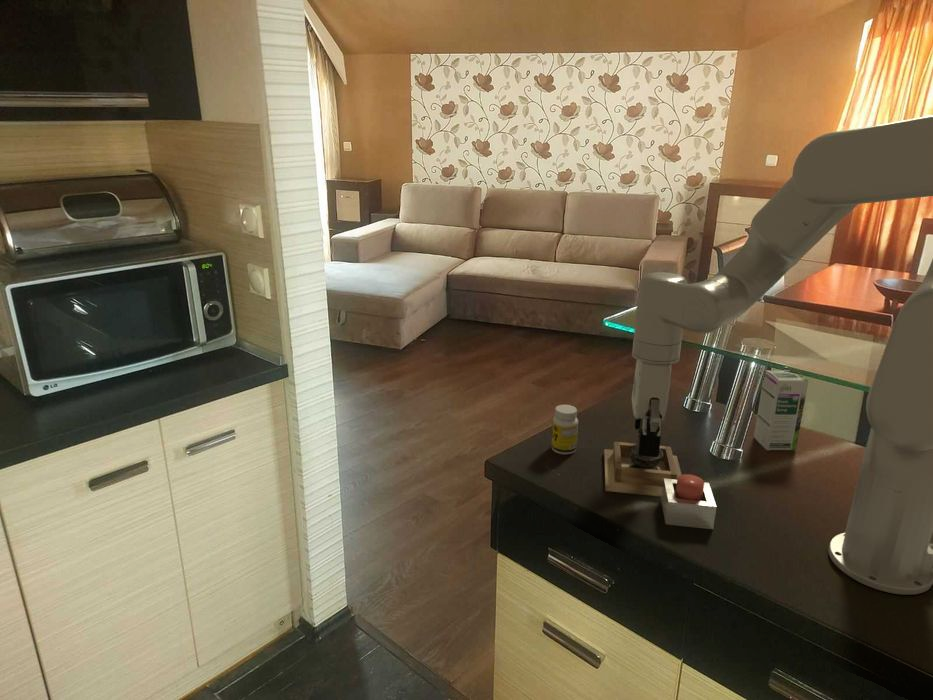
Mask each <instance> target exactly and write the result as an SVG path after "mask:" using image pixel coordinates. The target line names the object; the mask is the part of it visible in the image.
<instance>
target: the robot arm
mask: <svg viewBox="0 0 933 700" xmlns="http://www.w3.org/2000/svg"><path fill="white" fill-rule="evenodd" d="M797 155H798V156H797V157H796V159H795V162H794V165H793V169H792V176H791V177H789V179H788V180H787V181H786V182H785V183H784V184H783V185H782V186H781V188H780V189H779V190H778V191H777V192H775V194H774V195H773V196H772V197H771V198H770V199H769V200H768V201H767V202H766V204H764V206H762V208H761V209H760V210H759V211H757V213H756V214H755V215H754V216H753V217H752V219H751V223H750V232H749V235H748V238H747V239H746V241H745V243H743V245H742V247H741V248H740V249H739V250H738V251H737V252H736V254H735V255H734V256H733V257H732V258H731V259H729V261H728V262H727V263H726V264H725V265H724V266H722V268H721V269H720V270H719V271H717V273H716V274H715V275H714V276H712V277H709V278H707V279H705V280H702V281H699V282H694V283H689V282H688V280H687V279H686V277H684V276H682V275H681V274H679V273H678V274H677V273H673V272H668V271H667V272H666V271H665V272H663V271H655V272H648V273H646V274H644V275H643V276H642V277H641V278H640V280H639V285H638V290H637V291H638V292H637V293H638V294H637V302H636V313H635V322H634V323H635V324H634V334H633V342H632V352H631V357H632V358H634V359H635V360H636V362H635V363H636V364H635V371H634V377H633V378H634V379H633V385H632V393H631V406H632V412H633V413H632V414H633V416H634V418H635V423H634V429H635V430H636V431H637V430H638V429H640V421H641V419H643V431H642V433H640V442H639V451H638V453H639V455H640V456H649V457H658V456H659V448H660V446H661V438H662V435H661V434H662V433H661V427H662V425H661V424H662V421H664V420H665V419H666V414H667V408H668V402H669V401H668V400H669V394H670V393H669V392H670V384H671V377H672V376H671V375H672V364H673V365H674V364H676V363H678V362H680V358H681V357H680V356H681V348H682V340H683V333H684V330H685V331H687V332H690V333H694V334H700V335H707V334H711V333H714V332H716V331H717V330H719V329H721V328H722V327H724V326H725V325H727V324H729V323H730V322H733V321H735V320H736V319H738V318H740V317H741V316H742V315H744V314H745V313H746V312H747V311H748V310H750V308H751V307H753V306H754V305H755V304H756V303H757V302H758V301H759V300H760V299H761V298H763V296H764V295H765V294H766V293H767V292H769V291H770V290H771V289H772V288H773V287H774V286H775V285H776V284H777V283H778V282H779V281H780V280H781V279H782V278H783V277H784V276H785V275H786V274H787V273H788V272H789V270H791V269H792V268H793V267H795V266H796V265H797V264H798V263H799V262H800V261H801V259H802V258H803V257H804V256H806V255H807V253H808V252H809V251H811V249H812V248H814V247H815V245H817V244H818V243H819V242H820V241H821V240H822V239H823V238H824V237H825V236H826V235H827V234H828V233H829V232H830V231H831V230H832V229H833V228H835V226H836V225H838V224H839V223H840V222H841V221H842V220H843V219H844V218H845V217H847V216H848V215H849V214H850V213H851V212H852V211H853V210H855V208H856V207H857V206H858V205H862V204H871V203H872V204H873V203H880V202H881V203H882V202H889V201H890V202H891V201H899V200H907V199H908V200H909V199H917V198H918V199H919V198H927V197H933V114H932V115H926V116H920V117H916V118H910V119H905V120H899V121H893V122H888V123H884V124H878V125H873V126H866V127H861V128H853V129H848V130H838V131H831V132H828V133H824V134H822V135H819V136H817V137H816V138H814V139H813V140H811V141H810V142H808V144H806V145H805V146H804V148H803V149H801V151H800V152H799V154H797ZM884 347H885V348H884V350H883V353H882V356H881V359H880V361H879V364H878V367H877V369H876V372H875V375H874V377H873V380H872V383H871V386H870V389H869V391H868V394H867V397H866V404H865V409H866V417H867V419H868V423H869V424H870V425H869V426H870V427H871V428H870V430H869V433H868V434H869V435H868V438H867V442H866V447H865V451H864V453H863V454H864V455H863V458H862V461H861V462H862V463H861V466H860V469H859V474H858V479H857V482H856V486H855V490H854V495H853V498H852V502H851V508H850V512H849V515H848V520H847V524H846V528H845V532H843V533H839V534H837V535H835V536H834V537H832V539H830V541H829V544H828V545H829V546H828V548H827V549H828V555H829V558H830V560H831V561H832V563H833V564H834V565H835V566H836V567H837V568H838V569H839V570H841V572H843V574H845V575H847V576H848V577H850V578H851V579H853V580H855V581H857V582H858V583H861V584H862V585H865V586H867V587H870V588H872V589H874V590H878V591H881V592H886V593H889V594H896V595H904V596H905V595H910V596H911V595H919V594H922V593H924V592H927V591H928V590H929V589H930V588H931V587H932V586H933V543H931V538H932V535H933V258H932V259H931V262H930V264H929V267H928V269H927V271H926V274H925V276H924V278H923V280H922V282H921V283H920V285H919V286H918V287H917V288H916V290H914V292H913V293H912V294H911V295H910V296H909V297H908V298H907V299H906V301H904V303H903V305H902V306H901V308H900V309H899V312H898V314H897V316H896V319H895V321H894V323H893V326H892V327H891V331H890V334H889V337H888V339H887V342H886V344H885V346H884ZM646 414H650V416H646ZM647 421H650V424H648V426H647Z"/></svg>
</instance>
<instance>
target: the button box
mask: <svg viewBox="0 0 933 700" xmlns="http://www.w3.org/2000/svg"><path fill="white" fill-rule="evenodd" d="M676 485H677V480H675V479H665V478H664V481H663V489H662V496H660V497H661V499H660V502H661V506H662V512H663V517H664V523H665V525H669V526H679V527H686V528H687V527H688V528H696V529H697V528H698V529H707V530H714V527H715V526H714V524H715V520H716V513H717V508H718V507H717V504H716V501H715V498H714V494H713V491H712V488H711V485H710V482H705V481H704V489H703V496H702V501H695V500H685V499H676V497H675V493H676Z"/></svg>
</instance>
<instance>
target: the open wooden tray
mask: <svg viewBox="0 0 933 700" xmlns="http://www.w3.org/2000/svg"><path fill="white" fill-rule="evenodd" d="M636 444H637V443H633V442H632V443H631V442H622V441H613V449H607V448H605V449H603V450H604V451H603V462H604V491H605V492H614V493H615V492H616V493H622V494H623V493H624V494H632V495H633V494H634V495H635V494H636V495H644V496H653V497H662V489H663V481H664V478H665V479H675V480H677V478H678V477H679V476H680V475H682V472H681V467H680V463H679V459H678V456H677V455H674V454H673V451H672V448H671V447H672V446H668V445H667V446H666V445H660V448H659V449H660V450H661V451H662V452H663V457H662V458H661V460H660V462H659V464H658V465H657V466H656V467H657V468H658V469H659V470H653V469H642V468H631V467H629V465H630V464H632V463H633V462H632V461H631V458H630V454H629V452H628V450H629V448H630V447H631V446H633V445H636Z"/></svg>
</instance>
